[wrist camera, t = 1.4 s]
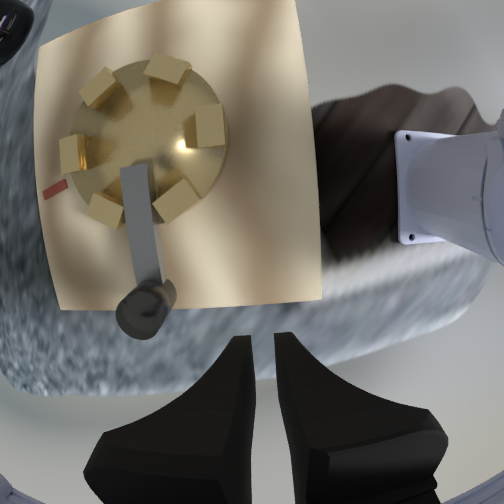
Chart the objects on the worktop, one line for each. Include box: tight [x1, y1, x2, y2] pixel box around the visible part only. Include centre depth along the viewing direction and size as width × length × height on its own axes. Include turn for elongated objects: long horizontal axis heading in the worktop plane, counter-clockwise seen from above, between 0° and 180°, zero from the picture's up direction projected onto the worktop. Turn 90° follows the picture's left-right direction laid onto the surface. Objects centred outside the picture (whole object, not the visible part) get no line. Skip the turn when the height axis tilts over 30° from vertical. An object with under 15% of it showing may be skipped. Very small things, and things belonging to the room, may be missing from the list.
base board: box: [34, 0, 322, 310], centre depth 18 cm, size 20×22×2 cm
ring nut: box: [59, 52, 229, 340], centre depth 15 cm, size 10×15×6 cm, turn 5°
